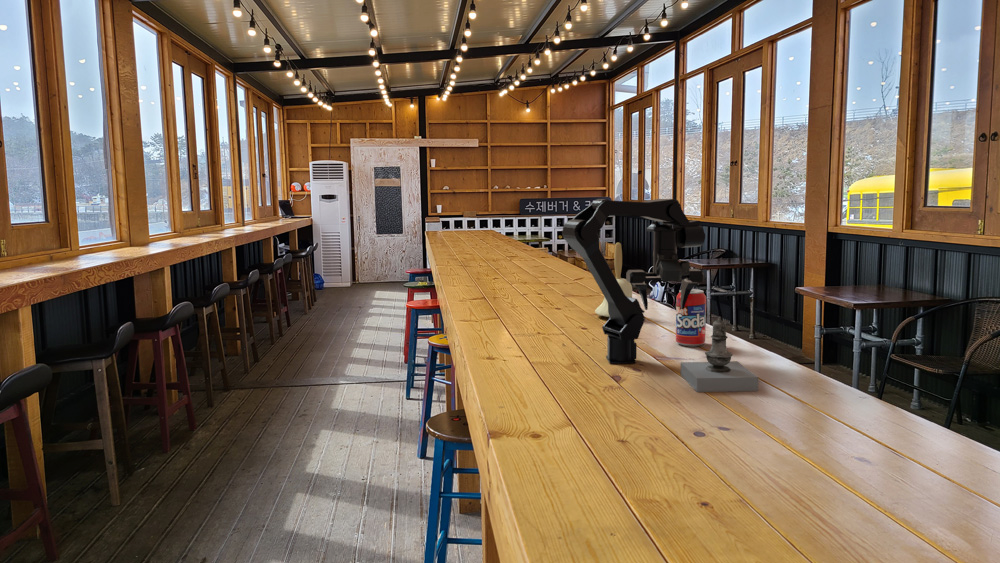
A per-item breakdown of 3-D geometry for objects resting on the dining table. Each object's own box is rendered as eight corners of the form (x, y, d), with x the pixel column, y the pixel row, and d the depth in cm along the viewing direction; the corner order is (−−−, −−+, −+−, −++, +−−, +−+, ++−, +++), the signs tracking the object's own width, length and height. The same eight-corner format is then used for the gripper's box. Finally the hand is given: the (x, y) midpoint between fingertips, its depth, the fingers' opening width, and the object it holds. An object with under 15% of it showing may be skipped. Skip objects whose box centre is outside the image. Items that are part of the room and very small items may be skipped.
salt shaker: (709, 373, 145) (711, 319, 144) (700, 366, 151) (701, 314, 150) (736, 372, 146) (738, 318, 144) (726, 365, 151) (728, 313, 150)
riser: (696, 391, 142) (697, 378, 142) (680, 374, 155) (680, 362, 155) (758, 390, 142) (758, 377, 142) (736, 373, 155) (737, 361, 155)
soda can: (702, 341, 188) (703, 288, 186) (707, 347, 180) (709, 292, 178) (673, 341, 189) (674, 288, 187) (678, 347, 181) (679, 292, 179)
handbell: (648, 315, 226) (648, 241, 223) (631, 323, 214) (632, 245, 210) (605, 311, 235) (605, 240, 231) (587, 319, 222) (587, 243, 218)
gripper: (634, 252, 162) (634, 316, 164) (711, 251, 162) (710, 314, 164) (626, 248, 173) (625, 307, 175) (698, 246, 173) (697, 306, 175)
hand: (664, 309), depth 172 cm, fingers open, 9 cm apart
